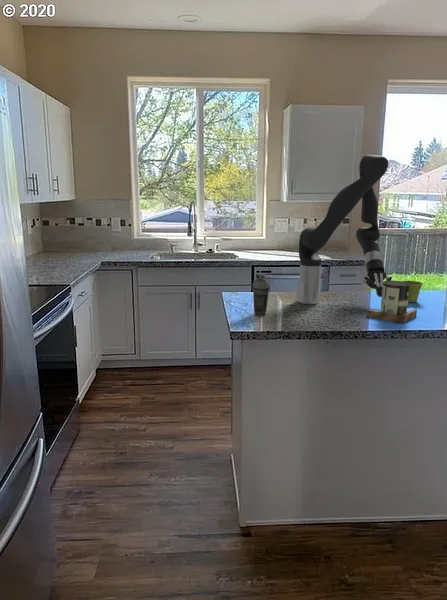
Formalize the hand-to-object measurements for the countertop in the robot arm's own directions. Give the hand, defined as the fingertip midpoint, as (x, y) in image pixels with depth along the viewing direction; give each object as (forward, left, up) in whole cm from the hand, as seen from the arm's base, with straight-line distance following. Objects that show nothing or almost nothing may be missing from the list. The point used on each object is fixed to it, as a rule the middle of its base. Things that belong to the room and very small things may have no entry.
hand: (381, 295), depth 197 cm
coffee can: (-4, -12, -6) cm, 14 cm away
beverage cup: (-54, +8, -6) cm, 55 cm away
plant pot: (+22, +5, -6) cm, 23 cm away
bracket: (-6, -16, -5) cm, 18 cm away
